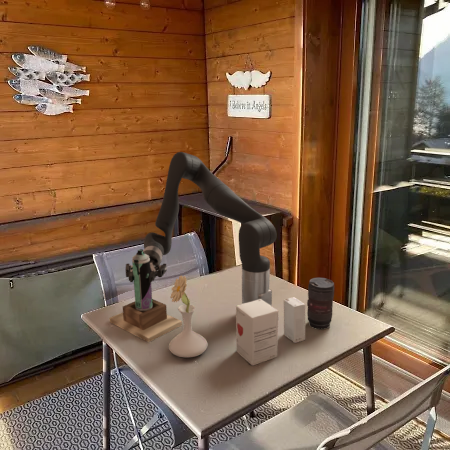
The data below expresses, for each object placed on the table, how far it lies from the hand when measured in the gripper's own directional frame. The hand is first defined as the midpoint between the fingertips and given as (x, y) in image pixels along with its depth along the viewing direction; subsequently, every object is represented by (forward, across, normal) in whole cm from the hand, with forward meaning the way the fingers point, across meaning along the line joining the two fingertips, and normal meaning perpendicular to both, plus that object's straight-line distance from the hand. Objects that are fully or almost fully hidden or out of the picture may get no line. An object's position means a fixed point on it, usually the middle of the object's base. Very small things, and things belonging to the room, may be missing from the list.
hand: (140, 279), depth 148 cm
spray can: (-3, 0, +11) cm, 11 cm away
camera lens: (-2, +57, +17) cm, 59 cm away
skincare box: (+6, +48, +17) cm, 51 cm away
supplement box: (+16, +36, +17) cm, 43 cm away
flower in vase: (+15, +16, +17) cm, 27 cm away
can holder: (-2, 0, +17) cm, 17 cm away
